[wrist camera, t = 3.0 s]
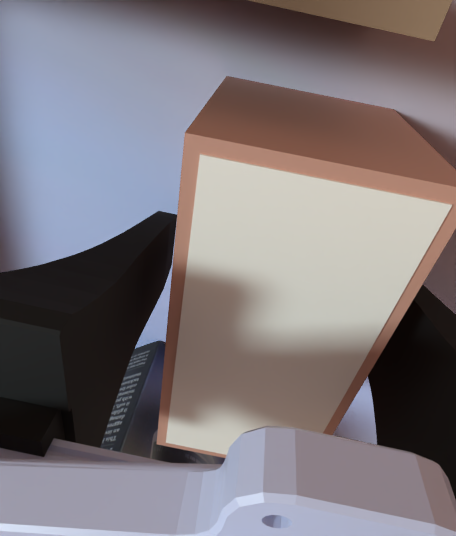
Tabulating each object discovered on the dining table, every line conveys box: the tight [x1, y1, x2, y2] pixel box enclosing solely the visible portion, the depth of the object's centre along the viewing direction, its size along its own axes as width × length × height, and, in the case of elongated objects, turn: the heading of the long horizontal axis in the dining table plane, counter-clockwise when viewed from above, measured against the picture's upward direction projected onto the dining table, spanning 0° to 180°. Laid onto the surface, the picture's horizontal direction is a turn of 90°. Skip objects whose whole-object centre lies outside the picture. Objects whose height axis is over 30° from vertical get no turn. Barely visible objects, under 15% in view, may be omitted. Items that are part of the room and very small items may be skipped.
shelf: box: [248, 0, 452, 42], centre depth 11 cm, size 17×14×5 cm
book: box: [157, 76, 456, 458], centre depth 12 cm, size 5×10×6 cm, turn 170°
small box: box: [100, 341, 225, 464], centre depth 17 cm, size 11×6×10 cm, turn 30°
